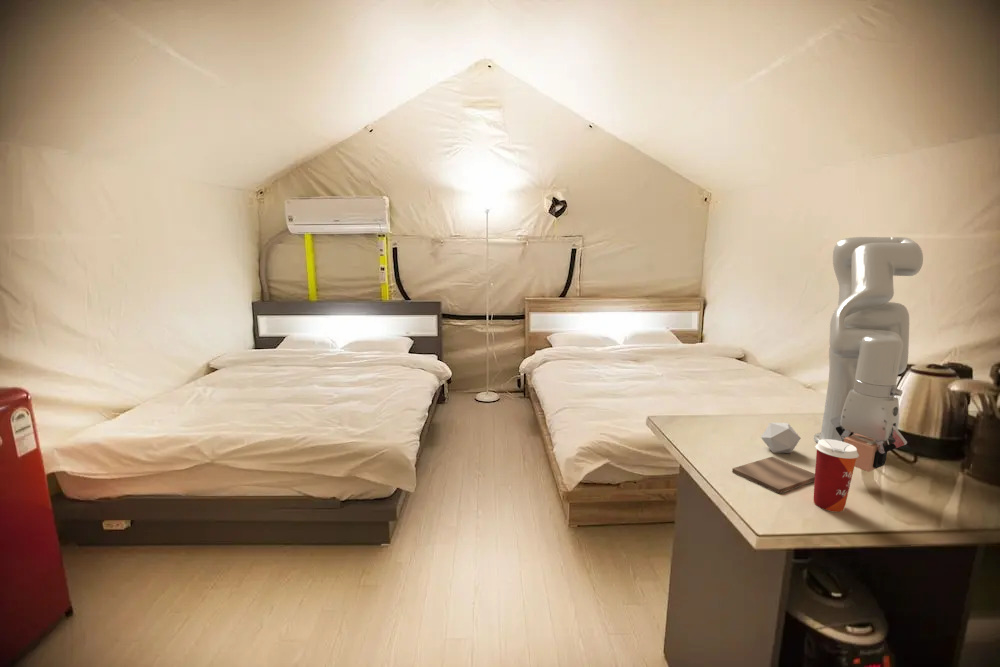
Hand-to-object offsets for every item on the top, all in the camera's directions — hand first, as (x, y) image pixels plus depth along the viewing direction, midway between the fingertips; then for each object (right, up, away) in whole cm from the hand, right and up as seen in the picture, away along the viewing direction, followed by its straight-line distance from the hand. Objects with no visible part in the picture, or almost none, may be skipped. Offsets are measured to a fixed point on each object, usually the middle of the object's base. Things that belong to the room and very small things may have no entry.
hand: (861, 460), depth 114 cm
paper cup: (-14, -8, -9) cm, 19 cm away
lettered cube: (0, -1, 0) cm, 1 cm away
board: (-18, -5, +4) cm, 19 cm away
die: (-8, -3, +20) cm, 22 cm away
